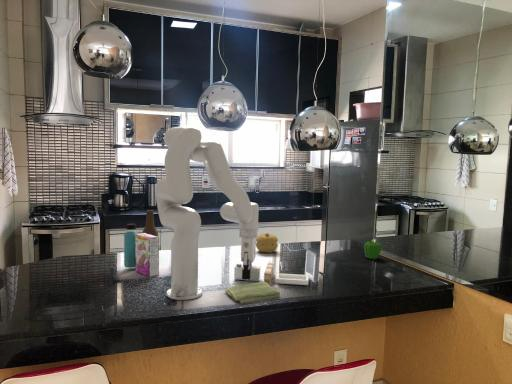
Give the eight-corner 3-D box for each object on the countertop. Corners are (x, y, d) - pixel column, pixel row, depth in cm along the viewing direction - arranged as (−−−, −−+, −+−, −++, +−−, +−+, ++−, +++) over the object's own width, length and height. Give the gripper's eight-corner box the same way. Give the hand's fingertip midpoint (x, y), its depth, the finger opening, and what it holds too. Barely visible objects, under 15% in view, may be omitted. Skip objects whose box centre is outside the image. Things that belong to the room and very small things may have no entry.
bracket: (308, 285, 158) (308, 280, 158) (275, 283, 160) (275, 278, 160) (308, 279, 166) (308, 275, 165) (276, 277, 167) (276, 273, 167)
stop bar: (258, 281, 161) (259, 267, 160) (234, 279, 162) (234, 265, 162) (259, 278, 165) (260, 264, 164) (235, 276, 166) (236, 263, 166)
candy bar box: (134, 272, 171) (134, 234, 169) (145, 269, 175) (144, 232, 173) (149, 277, 163) (149, 238, 162) (159, 275, 167) (159, 236, 166)
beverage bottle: (134, 271, 171) (134, 225, 169) (120, 270, 172) (120, 224, 171) (142, 267, 177) (142, 223, 176) (128, 266, 179) (128, 222, 177)
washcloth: (223, 293, 148) (223, 285, 147) (266, 287, 155) (266, 279, 155) (236, 305, 136) (236, 296, 136) (282, 298, 143) (282, 290, 143)
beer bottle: (161, 259, 192) (161, 210, 190) (149, 263, 185) (149, 211, 183) (150, 257, 196) (150, 208, 194) (138, 260, 189) (137, 210, 187)
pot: (280, 250, 216) (281, 232, 215) (272, 255, 205) (273, 236, 204) (260, 248, 221) (261, 230, 220) (252, 252, 210) (252, 233, 209)
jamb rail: (270, 286, 156) (270, 273, 155) (263, 285, 156) (264, 273, 156) (273, 274, 172) (273, 263, 171) (267, 274, 172) (268, 262, 171)
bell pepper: (366, 255, 209) (367, 236, 209) (382, 258, 205) (383, 238, 204) (360, 258, 203) (361, 239, 202) (377, 261, 198) (378, 241, 197)
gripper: (255, 237, 153) (253, 284, 155) (259, 230, 170) (258, 272, 171) (235, 236, 154) (234, 282, 156) (242, 229, 171) (240, 271, 172)
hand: (246, 276), depth 163 cm, fingers closed on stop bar, 4 cm apart
